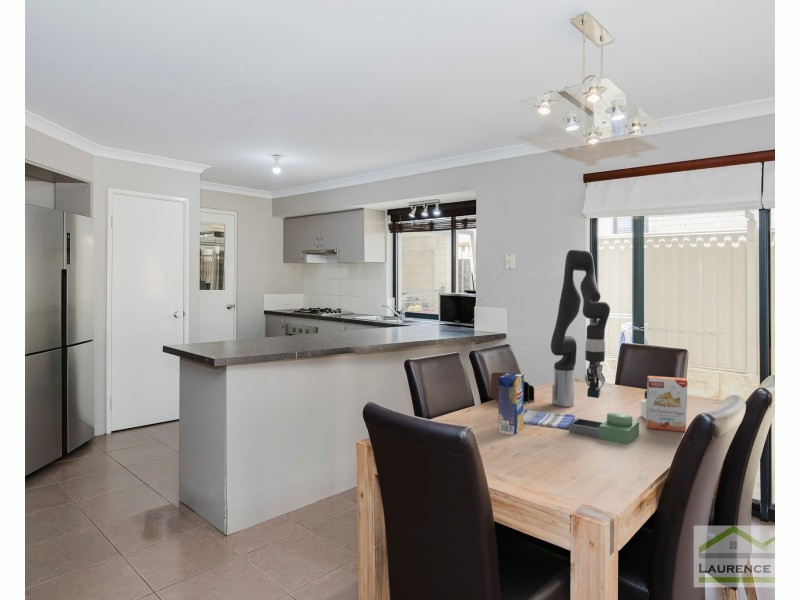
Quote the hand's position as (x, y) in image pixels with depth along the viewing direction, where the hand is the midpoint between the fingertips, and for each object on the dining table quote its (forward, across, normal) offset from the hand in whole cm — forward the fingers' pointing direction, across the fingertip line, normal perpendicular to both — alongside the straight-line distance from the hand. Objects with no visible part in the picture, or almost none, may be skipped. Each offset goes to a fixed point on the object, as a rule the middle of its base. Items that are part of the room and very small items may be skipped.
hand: (594, 390), depth 212 cm
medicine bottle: (+15, -25, +17) cm, 34 cm away
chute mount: (+14, +13, +2) cm, 19 cm away
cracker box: (+14, -11, +25) cm, 31 cm away
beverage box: (+15, +29, -23) cm, 40 cm away
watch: (+3, 0, 0) cm, 3 cm away
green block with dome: (+14, +11, +13) cm, 22 cm away
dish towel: (+15, +8, -18) cm, 25 cm away
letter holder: (+15, -19, -46) cm, 52 cm away
